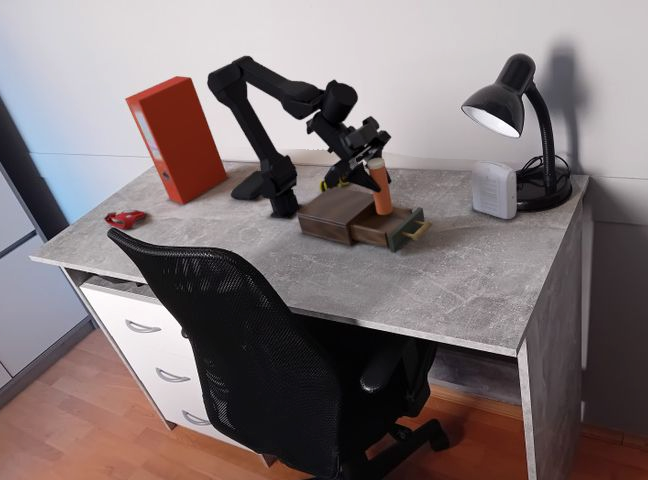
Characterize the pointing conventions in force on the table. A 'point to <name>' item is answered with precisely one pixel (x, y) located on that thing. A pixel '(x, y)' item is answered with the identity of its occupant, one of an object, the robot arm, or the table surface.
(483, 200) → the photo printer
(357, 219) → the drawer
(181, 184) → the file binder
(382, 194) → the tube
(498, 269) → the table surface
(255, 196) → the carrying case
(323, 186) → the opera glasses
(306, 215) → the organiser
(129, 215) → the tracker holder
